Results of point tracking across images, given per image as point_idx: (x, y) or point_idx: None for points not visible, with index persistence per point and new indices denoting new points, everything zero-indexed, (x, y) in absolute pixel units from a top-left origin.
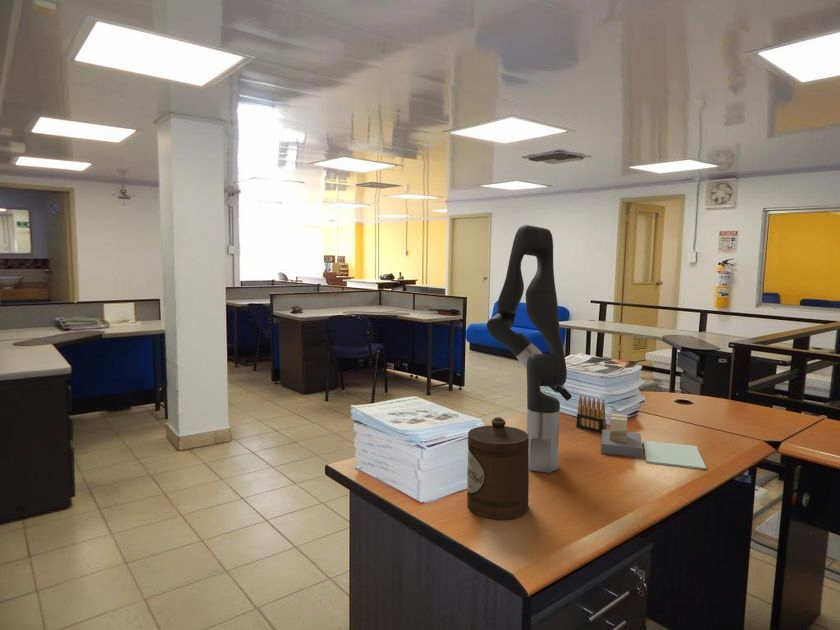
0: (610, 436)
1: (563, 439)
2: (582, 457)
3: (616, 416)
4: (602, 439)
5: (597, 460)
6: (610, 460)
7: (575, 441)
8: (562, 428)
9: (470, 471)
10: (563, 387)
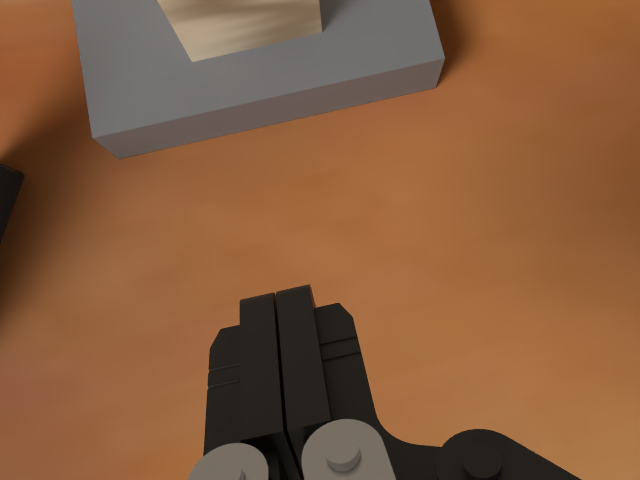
0: (320, 15)
1: None
2: (584, 162)
3: None
4: (340, 76)
5: (579, 72)
6: (530, 10)
7: None
8: (28, 472)
9: None
10: (331, 439)
